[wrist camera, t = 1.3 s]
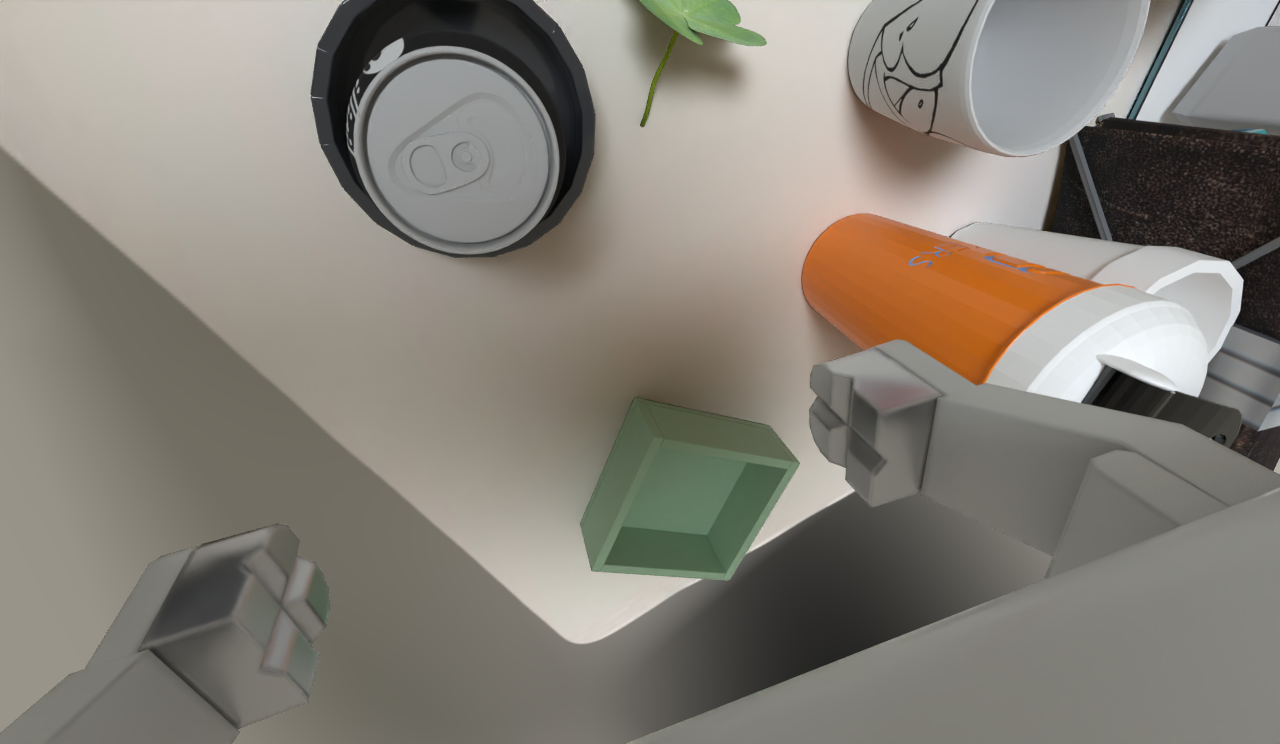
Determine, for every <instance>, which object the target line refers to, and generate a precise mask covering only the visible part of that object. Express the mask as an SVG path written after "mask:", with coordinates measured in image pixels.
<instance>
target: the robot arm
mask: <svg viewBox="0 0 1280 744" xmlns="http://www.w3.org/2000/svg"><path fill="white" fill-rule="evenodd" d="M810 388H811V389H812V390H813V391H814V392H815V393H816V394H817V395H818V396H817V398H816V400H815V401H814V403H813V404H812V406H811V407H810V409H809V422H810V429H811V432H812V435H813V438H814V441H815V443H816V445H817V446H818V448H819V450H820V452H821V453H822V454H823V455H824V456H825V457H826V459H827V460H828V461H829V462H831V463H834V464H837V465H839V466H842V467H845V468H846V478H845V480H846V481H847V482H848V483H849V484H850V485H851V486H852V487H853V488H854V490H855V491H856V492H857V493H858V494H859V495H860V496H861V497H862V498H863V499H864V500H865V502H867V504H868V505H869V506H870V507H871V508H872V507H875V506H878V505H881V504H884V503H887V502H890V501H894V500H897V499H900V498H903V497H906V496H910V495H913V494H916V493H919V492H921V494H920V495H922V496H924V497H926V498H928V499H930V500H933V501H935V502H937V503H939V504H941V505H943V506H945V507H947V508H950V509H952V510H954V511H956V512H958V513H960V514H963V515H965V516H967V517H969V518H971V519H973V520H975V521H978V522H980V523H982V524H984V525H986V526H988V527H990V528H993V529H995V530H997V531H999V532H1001V533H1003V534H1006V535H1008V536H1010V537H1012V538H1014V539H1017V540H1018V541H1021V542H1023V543H1025V544H1027V545H1029V546H1031V547H1034V548H1036V549H1038V550H1040V551H1042V552H1044V553H1047V554H1049V555H1051V556H1053V558H1052V560H1051V563H1050V565H1049V568H1048V571H1047V573H1046V576H1045V578H1044V580H1042V581H1039V582H1037V583H1034V584H1032V585H1029V586H1027V587H1024V588H1021V589H1019V590H1017V591H1014V592H1011V593H1009V594H1006V595H1004V596H1001V597H999V598H996V599H993V600H991V601H988V602H986V603H983V604H981V605H978V606H976V607H973V608H970V609H968V610H966V611H963V612H960V613H958V614H955V615H953V616H950V617H948V618H945V619H942V620H940V621H937V622H935V623H932V624H930V625H927V626H925V627H922V628H919V629H917V630H914V631H912V632H909V633H907V634H904V635H902V636H899V637H897V638H894V639H891V640H889V641H886V642H884V643H881V644H879V645H877V646H874V647H871V648H869V649H866V650H863V651H861V652H859V653H856V654H853V655H851V656H848V657H846V658H843V659H840V660H838V661H836V662H833V663H830V664H828V665H825V666H823V667H820V668H818V669H815V670H813V671H810V672H808V673H805V674H802V675H800V676H797V677H795V678H792V679H790V680H787V681H785V682H782V683H779V684H777V685H774V686H772V687H769V688H767V689H764V690H761V691H759V692H756V693H754V694H751V695H749V696H747V697H744V698H741V699H739V700H736V701H734V702H731V703H728V704H726V705H724V706H721V707H718V708H716V709H713V710H710V711H708V712H705V713H703V714H700V715H698V716H695V717H693V718H690V719H688V720H685V721H683V722H680V723H678V724H675V725H672V726H670V727H667V728H665V729H662V730H660V731H657V732H655V733H652V734H650V735H647V736H644V737H642V738H639V739H637V740H634V741H632V742H629V743H627V744H1280V474H1277V473H1276V472H1274V471H1272V470H1270V469H1268V468H1266V467H1264V466H1262V465H1260V464H1258V463H1256V462H1254V461H1252V460H1250V459H1249V458H1247V457H1245V456H1243V455H1241V454H1239V453H1237V452H1235V451H1233V450H1231V449H1229V448H1227V447H1225V446H1223V445H1221V444H1219V443H1217V442H1216V441H1214V440H1212V439H1210V438H1208V437H1206V436H1204V435H1202V434H1200V433H1198V432H1196V431H1194V430H1192V429H1190V428H1188V427H1186V426H1184V425H1183V424H1179V423H1174V422H1169V421H1164V420H1160V419H1155V418H1150V417H1145V416H1140V415H1136V414H1131V413H1126V412H1121V411H1117V410H1112V409H1107V408H1102V407H1098V406H1093V405H1088V404H1083V403H1079V402H1074V401H1069V400H1064V399H1060V398H1055V397H1050V396H1045V395H1041V394H1036V393H1031V392H1026V391H1021V390H1017V389H1012V388H1007V387H1002V386H998V385H993V384H988V383H983V384H980V385H977V386H976V385H975V384H973V383H972V382H970V381H969V380H967V379H966V378H964V377H962V376H961V375H959V374H958V373H956V372H955V371H953V370H951V369H950V368H948V367H947V366H945V365H944V364H942V363H940V362H939V361H937V360H936V359H934V358H933V357H931V356H929V355H928V354H926V353H925V352H923V351H922V350H920V349H918V348H917V347H915V346H914V345H912V344H911V343H909V342H907V341H905V340H899V339H895V340H892V341H889V342H886V343H883V344H880V345H877V346H874V347H871V348H869V349H868V350H864V351H861V352H858V353H854V354H851V355H848V356H844V357H841V358H838V359H834V360H831V361H828V362H824V363H821V364H818V365H814V366H813V369H812V371H811V374H810ZM299 544H300V540H299V539H298V538H297V536H296V535H295V534H294V532H293V531H292V530H291V529H290V527H289V526H288V525H283V524H274V525H270V526H266V527H263V528H259V529H256V530H252V531H248V532H245V533H241V534H237V535H233V536H230V537H226V538H222V539H219V540H215V541H211V542H208V543H204V544H202V545H200V546H194V547H191V548H187V549H184V550H180V551H177V552H173V553H170V554H166V555H163V556H161V557H159V558H158V559H156V560H154V561H153V562H151V563H150V564H149V565H148V567H147V568H146V570H145V572H144V573H143V575H142V577H141V578H140V580H139V581H138V583H137V584H136V586H135V588H134V590H133V591H132V593H131V594H130V596H129V597H128V599H127V601H126V602H125V604H124V606H123V607H122V609H121V610H120V612H119V614H118V616H117V617H116V619H115V620H114V622H113V624H112V625H111V627H110V628H109V630H108V632H107V633H106V635H105V636H104V638H103V640H102V641H101V643H100V645H99V646H98V648H97V649H96V651H95V653H94V654H93V656H92V658H91V659H90V661H89V663H88V664H87V666H86V667H85V669H84V670H81V671H78V672H75V673H72V674H69V675H68V676H67V677H66V678H64V679H63V680H62V681H61V682H60V683H59V684H57V685H56V686H55V687H54V688H53V689H51V690H50V691H49V692H48V693H47V694H46V695H44V696H43V697H42V698H41V699H40V700H38V701H37V702H36V703H35V704H34V705H33V706H31V707H30V708H29V709H28V710H27V711H26V712H24V713H23V714H22V715H21V716H20V717H19V718H18V719H16V720H15V721H14V722H13V723H12V724H10V725H9V726H8V727H7V728H6V729H4V730H3V731H2V732H1V733H0V744H232V743H233V741H234V740H235V739H236V737H237V736H238V734H239V733H240V732H239V730H238V729H240V728H243V727H245V726H248V725H250V724H253V723H256V722H259V721H261V720H264V719H267V718H269V717H272V716H274V715H277V714H280V713H283V712H285V711H288V710H290V709H293V708H296V707H299V706H301V705H304V704H306V703H308V702H309V698H310V694H311V690H312V685H313V681H314V677H315V673H316V669H317V664H318V660H319V654H318V653H317V652H316V650H315V649H314V648H313V647H312V643H313V642H314V641H315V640H316V638H317V637H318V636H319V635H320V634H321V632H322V631H323V630H324V629H325V628H326V626H327V621H328V616H329V611H330V600H329V588H328V585H327V582H326V580H325V577H324V575H323V573H322V571H321V570H320V568H319V567H318V565H317V564H316V562H314V561H311V560H309V559H306V558H303V557H301V556H298V555H297V551H298V547H299Z"/></svg>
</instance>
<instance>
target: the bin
mask: <svg viewBox="0 0 1280 744" xmlns="http://www.w3.org/2000/svg"><path fill="white" fill-rule="evenodd" d="M799 464H800V462H799V461H798V460H797V459H796V457H795V456H794V455H793V454H792V453H791V451H790V450H789V449H788V448H787V446H786V445H785V444H784V443H783V442H782V440H781V439H780V438H779V437H778V435H777V434H776V433H775V432H774V431H773V429H772V428H771V427H770V426H768V425H763V424H759V423H754V422H749V421H744V420H740V419H735V418H730V417H725V416H721V415H716V414H711V413H706V412H702V411H697V410H692V409H687V408H683V407H678V406H673V405H668V404H663V403H659V402H654V401H649V400H644V399H640V398H634V400H633V403H632V405H631V407H630V410H629V412H628V414H627V417H626V419H625V421H624V424H623V426H622V428H621V430H620V433H619V435H618V437H617V440H616V442H615V444H614V447H613V449H612V451H611V453H610V456H609V458H608V460H607V463H606V465H605V467H604V470H603V472H602V474H601V477H600V479H599V481H598V483H597V486H596V488H595V490H594V493H593V495H592V497H591V500H590V502H589V504H588V506H587V509H586V511H585V513H584V516H583V518H582V520H581V523H580V525H581V529H582V534H583V538H584V542H585V546H586V550H587V555H588V559H589V563H590V567H591V571H595V572H600V571H601V572H610V573H625V574H640V575H655V576H670V577H685V578H700V579H715V580H730V579H731V577H732V575H733V574H734V572H735V570H736V569H737V567H738V566H739V564H740V562H741V561H742V559H743V557H744V556H745V554H746V552H747V551H748V549H749V547H750V546H751V544H752V542H753V541H754V539H755V537H756V536H757V534H758V532H759V531H760V529H761V527H762V526H763V524H764V522H765V521H766V519H767V517H768V516H769V514H770V512H771V511H772V509H773V507H774V506H775V504H776V503H777V501H778V499H779V498H780V496H781V494H782V493H783V491H784V489H785V488H786V486H787V484H788V483H789V481H790V479H791V478H792V476H793V474H794V473H795V471H796V469H797V468H798V466H799Z"/></svg>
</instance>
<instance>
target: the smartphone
mask: <svg viewBox="0 0 1280 744" xmlns="http://www.w3.org/2000/svg"><path fill="white" fill-rule="evenodd" d="M1279 4H1280V0H1185V2H1184V4H1183V6H1182V8H1181V10H1180V12H1179V14H1178V16H1177V18H1176V20H1175V23H1174V25H1173V27H1172V29H1171V31H1170V33H1169V35H1168V37H1167V39H1166V41H1165V43H1164V45H1163V47H1162V50H1161V52H1160V54H1159V56H1158V58H1157V60H1156V62H1155V64H1154V66H1153V68H1152V70H1151V72H1150V74H1149V77H1148V79H1147V81H1146V83H1145V85H1144V87H1143V89H1142V91H1141V93H1140V95H1139V97H1138V99H1137V101H1136V104H1135V106H1134V108H1133V110H1132V112H1131V114H1130V116H1129V118H1128V119H1132V120H1141V121H1150V122H1158V123H1167V124H1176V125H1181V124H1180V122H1179V121H1178V119H1177V118H1176V117H1175V115H1174V114H1173V112H1172V111H1173V110H1174V109H1175V107H1176V106H1177V105H1178V104H1179V102H1180V101H1181V100H1182V99H1183V97H1184V96H1185V95H1186V94H1187V92H1188V91H1189V90H1190V89H1191V87H1192V86H1193V85H1194V84H1195V82H1196V81H1197V80H1198V79H1199V77H1200V76H1201V75H1202V74H1203V72H1204V71H1205V70H1206V69H1207V67H1208V66H1209V65H1210V64H1211V62H1212V61H1213V60H1214V59H1215V57H1216V56H1217V55H1218V54H1219V52H1220V51H1221V50H1222V49H1223V47H1224V46H1225V45H1226V44H1227V42H1228V41H1229V40H1230V39H1231V37H1232V36H1233V35H1236V34H1239V33H1241V32H1244V31H1247V30H1250V29H1253V28H1256V27H1263V26H1267V25H1268V23H1269V22H1270V20H1271V18H1272V16H1273V14H1274V13H1275V11H1276V9H1277V7H1278V5H1279Z"/></svg>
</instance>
